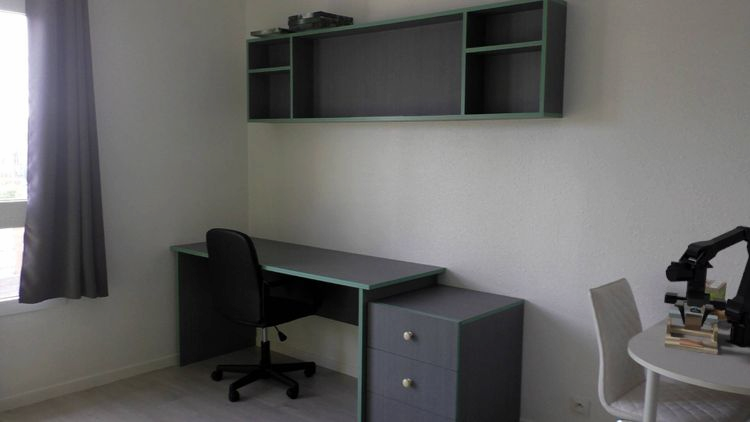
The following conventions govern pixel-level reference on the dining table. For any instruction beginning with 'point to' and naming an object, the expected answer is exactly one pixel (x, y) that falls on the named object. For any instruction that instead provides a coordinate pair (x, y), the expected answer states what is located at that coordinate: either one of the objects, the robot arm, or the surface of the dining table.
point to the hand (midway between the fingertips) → (692, 325)
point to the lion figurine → (719, 314)
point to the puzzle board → (691, 343)
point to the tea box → (712, 293)
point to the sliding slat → (678, 315)
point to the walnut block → (693, 322)
